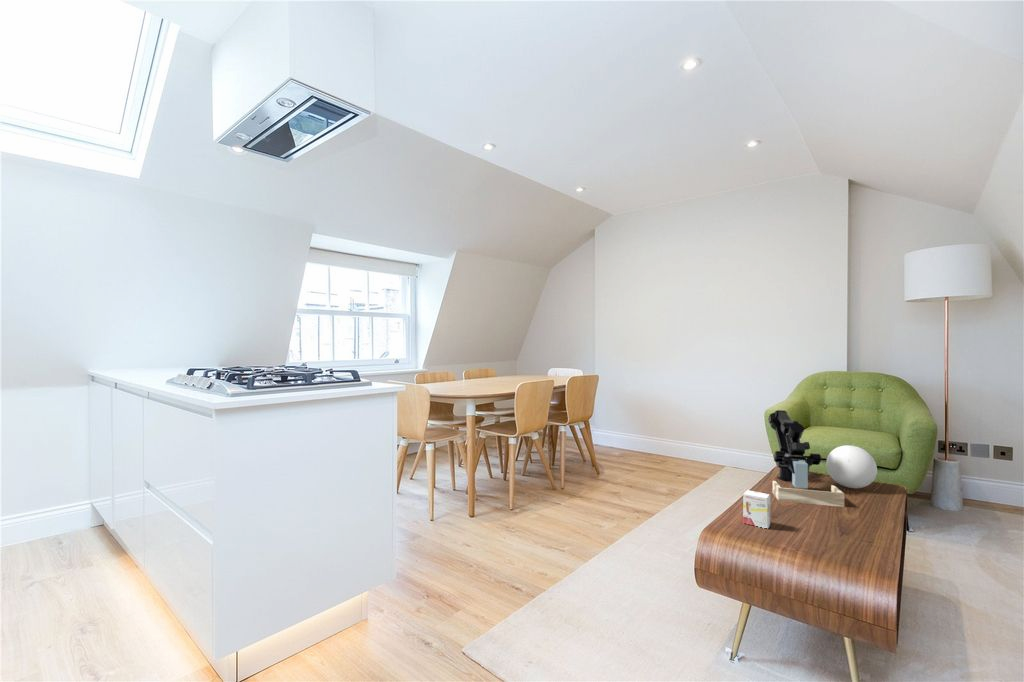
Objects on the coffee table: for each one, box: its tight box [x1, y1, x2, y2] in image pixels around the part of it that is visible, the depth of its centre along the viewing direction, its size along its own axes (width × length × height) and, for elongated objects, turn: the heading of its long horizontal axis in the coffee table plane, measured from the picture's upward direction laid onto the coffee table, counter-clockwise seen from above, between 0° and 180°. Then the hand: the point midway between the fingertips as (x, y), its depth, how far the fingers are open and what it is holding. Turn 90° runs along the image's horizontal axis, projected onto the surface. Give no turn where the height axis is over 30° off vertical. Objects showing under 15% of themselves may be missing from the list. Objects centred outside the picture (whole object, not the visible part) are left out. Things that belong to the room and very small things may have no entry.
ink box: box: [742, 489, 771, 530], centre depth 176 cm, size 9×5×12 cm, turn 50°
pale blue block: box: [791, 460, 809, 489], centre depth 214 cm, size 5×5×11 cm
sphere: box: [825, 444, 878, 489], centre depth 223 cm, size 20×20×20 cm
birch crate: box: [772, 480, 845, 508], centre depth 204 cm, size 12×24×6 cm, turn 72°
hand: (800, 474), depth 213 cm, fingers closed on pale blue block, 5 cm apart
